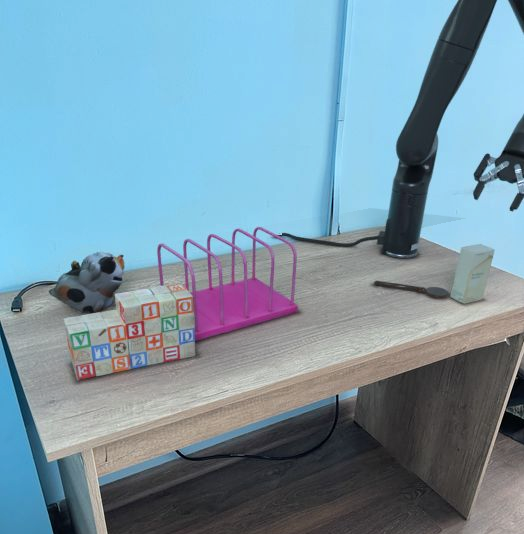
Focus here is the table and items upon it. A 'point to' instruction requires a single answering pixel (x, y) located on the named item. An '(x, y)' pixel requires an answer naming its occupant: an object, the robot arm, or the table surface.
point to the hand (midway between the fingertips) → (493, 204)
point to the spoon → (416, 289)
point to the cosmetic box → (472, 273)
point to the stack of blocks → (133, 332)
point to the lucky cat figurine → (90, 282)
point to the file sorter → (234, 292)
